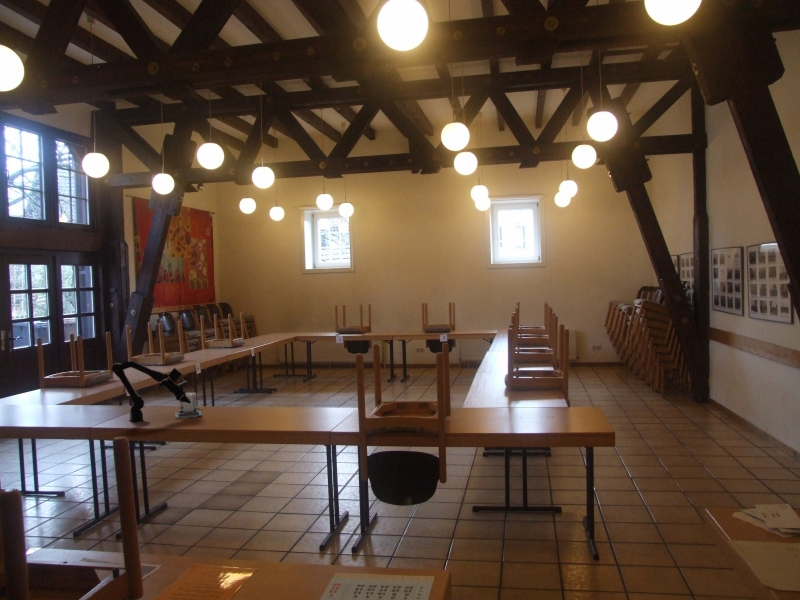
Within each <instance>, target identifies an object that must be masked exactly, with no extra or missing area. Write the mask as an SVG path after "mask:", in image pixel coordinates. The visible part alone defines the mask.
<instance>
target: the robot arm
mask: <svg viewBox="0 0 800 600" xmlns="http://www.w3.org/2000/svg"><path fill="white" fill-rule="evenodd" d="M130 368H133V369H134V370H137V371H139V372H141V373H143V374H146V375H147V376H149V377H150V378H151V379H153V380H154V381H156V382H158V383H159V388H161V387H162V386H163V387H164V388H165V389H166V390H168V391H169V392H170V393H171V394H172V395H174V396H175V399H176V400H177V401H179V402H180V401H182V402H186V403H189V404H190V403H191V402H190V400H189V399H188V398H187V397H186V393H187V392H186V390H185V388H186V387H188V386H189V382H188V381H187V380H184V379H182V380H181V381H180V383H175V381H178V380H179V379H180V378H181V377H182V375H183V373H182V372H181V371H180V370H178V369H177V368H175V367H174V368H173V369H172V370H171V371H170V372H169V373H163V371H159V370H155V369H151V368H149V367H147V366H145V365H143V364H141V363H139V362H137V361H135V360H133V359H131V360H128V361H125V362H121V363H119V362H116V363H114V364H113V365H112V366H111V371H112V373H114V375H115V376H116V377H118V378H119V380H120V381H121V383H122V385H123V386H124V388H125V390H126V391H127V393H128V394H129V397H130V398H131V401H132V404H133V405H132V406H130V411H129V420H128V421H129V422H131V423H135V422H136V423H137V422H142V421H144V413H143V410H141V409H143V408H144V407H145V399H144V398H143V395H142V394H140V395H139V394H138V393H137V392H136V390H135V388H134V387H133V385H132V384H131V381H130V380H129V379H128V376H127V375H126V372H125V370H127V369H130Z"/></svg>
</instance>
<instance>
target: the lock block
mask: <svg viewBox="0 0 800 600" xmlns="http://www.w3.org/2000/svg"><path fill="white" fill-rule="evenodd" d="M186 397H187V398H188V399H189V400H190V402H191V403H190V404H189V403H186V402H183V409H184V413H192V412H193V401H192V394H190V395H186Z"/></svg>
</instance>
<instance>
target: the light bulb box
mask: <svg viewBox="0 0 800 600" xmlns="http://www.w3.org/2000/svg"><path fill="white" fill-rule="evenodd" d="M185 393H186V395H190V394H192V401H193V409H195V408H196V409H198V407H197V405H198V404H197V401H198V400H197V392H185ZM181 410H184V409H183V402H182V401H179V411H181Z"/></svg>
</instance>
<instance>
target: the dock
mask: <svg viewBox="0 0 800 600" xmlns="http://www.w3.org/2000/svg"><path fill="white" fill-rule="evenodd" d="M197 416H202V417H203V413H202V411H201V409H200V410H199V409H198V408H196V409H193V412H192V413H184V410H181V411H180V410H178V411H177V412H174V417H175V418H174V419H175V420H181V419H180V418H184V419H189V418H188V417H193V418H198V417H197Z"/></svg>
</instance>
